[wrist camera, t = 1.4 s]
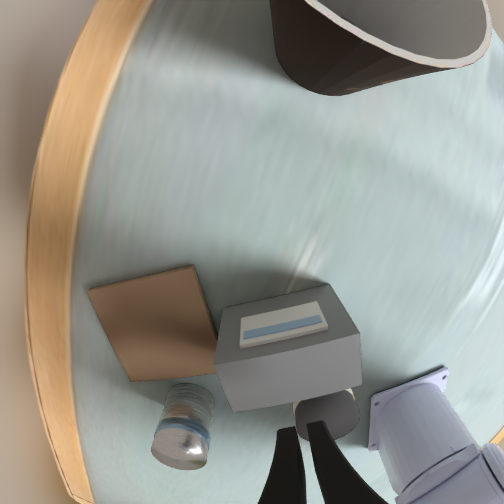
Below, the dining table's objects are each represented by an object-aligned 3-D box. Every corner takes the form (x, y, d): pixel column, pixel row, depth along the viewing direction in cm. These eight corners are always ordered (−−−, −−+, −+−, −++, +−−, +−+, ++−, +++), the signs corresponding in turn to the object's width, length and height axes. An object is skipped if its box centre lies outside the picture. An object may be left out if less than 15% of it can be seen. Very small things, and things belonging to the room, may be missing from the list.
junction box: (335, 328, 19) (361, 384, 14) (237, 350, 20) (232, 412, 14) (329, 280, 18) (359, 328, 13) (222, 304, 19) (211, 360, 13)
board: (228, 366, 20) (227, 371, 20) (133, 377, 21) (130, 381, 20) (193, 264, 18) (192, 268, 17) (91, 288, 19) (87, 291, 18)
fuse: (220, 412, 22) (215, 469, 16) (178, 416, 22) (164, 470, 16) (206, 380, 21) (195, 439, 15) (160, 384, 21) (140, 440, 15)
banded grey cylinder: (339, 377, 21) (360, 433, 15) (290, 388, 21) (300, 448, 15) (335, 338, 20) (361, 394, 14) (282, 350, 20) (291, 411, 14)
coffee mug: (286, 130, 16) (332, 85, 6) (236, 12, 13) (224, -97, 4) (440, 94, 15) (548, 71, 5) (391, -8, 12) (460, -76, 3)
